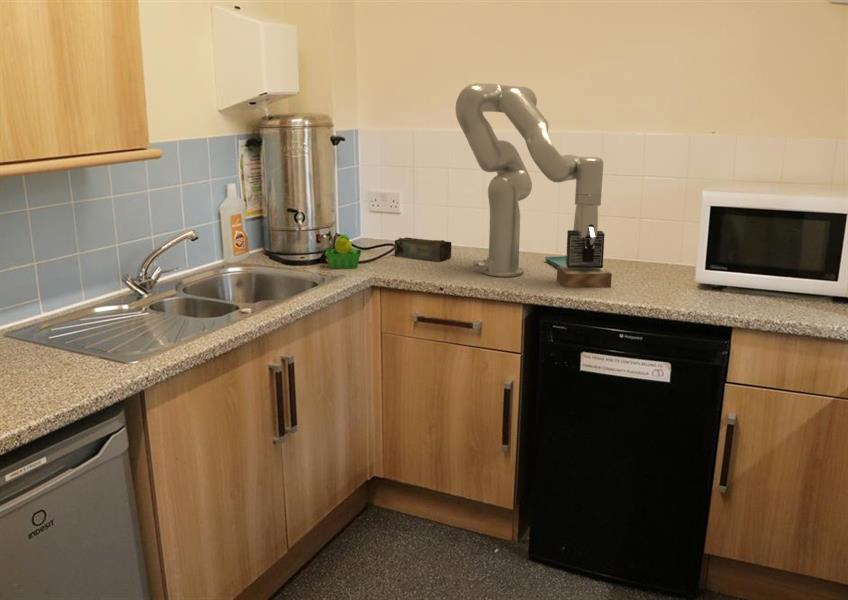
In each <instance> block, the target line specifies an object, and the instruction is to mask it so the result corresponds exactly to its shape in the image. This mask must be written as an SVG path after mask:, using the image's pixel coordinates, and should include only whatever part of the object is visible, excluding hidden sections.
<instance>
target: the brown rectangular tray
mask: <svg viewBox="0 0 848 600" xmlns="http://www.w3.org/2000/svg"><path fill="white" fill-rule="evenodd" d="M612 276H613V275H612V273H611V272H610V271H608V270H607V269H606V268H605V267H603V268H568V267H567V266H559V267H557V268H556V281H557V280H558V281H559V282H560V283H561V284H560V283H559V282H558V281H557V282H558V283H559V284H560V285H563V286H564V287H570V288H612ZM563 286H562V287H563ZM564 287H563V288H564Z"/></svg>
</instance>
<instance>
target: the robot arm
mask: <svg viewBox="0 0 848 600" xmlns="http://www.w3.org/2000/svg"><path fill="white" fill-rule="evenodd" d="M537 102H538V101H537V96H536V94H535V92H534V90H532V89H531V88H529V87H527V86H515V85H503V84H496V83H473V84H469V85H467V86H465V87H464V88H463V89H462V90H461V91H460V92H459V94H458V96H457V98H456V102H455V116H456V119H457V123H458V125H459V126H460V128H461V131H462V132H463V134H464V136H465V138H466V141H467V142H468V145H469V147H470V149H471V151H472V153H473V155H474V157H475V159H476V162H477V163H478V166H479V167H480V169H481V170H483V172H486V173H496V174H497V175H495V176H494V177H493V178H492V179H491V180H490V181H489V184H488V187H487V196H488V197H487V198H488V205H489V231H488V232H489V235H488V236H489V237H488V238H489V239H488V242H489V243H488V256H486V259H483V260H476V259H475V260H473V267H478V268H483V273H484V274H485V275H488V276H492V277H500V278H501V277H502V278H508V277H509V278H510V277H520V276H521V275H523V274H524V269H523V268H521V267H519V261H520V258H519V257H520V235H521V234H520V233H521V211H520V205H519V201H523V200H525V199H527V198H528V197H529V196H530V195H531V192H532V190H533V181H532V179H531V176H530V174H529V172H528V169H527V168H526V165H525V163H524V162H523V159H522V157H521V155H520V153H519V151H518V149H517V148H516V147H515V145H513V144H512V143H511V142H509V141H508V140H499V139H498V137H497V136H496V134H495V132H494V129H493V127H492V126H491V123H490V122H489V121H488V119H486V117H485V115H484V112H485V113H487V112H488V113H489V112H492V113H493V112H494V113H502V114H505V116H506V117H507V119H508V120H509V122H511V124H513V126H514V127H515V129H516V130H517V131H518V133H519V134H520V136H521V137H522V138H523V140H524V141H525V145H526V147H527V150H528V152H529V154H530V157H531V159H532V161H533V162H534V163H535V165H536V167H538V169H539V170H540V171H541V173H542V174H543V175H544V177H546V178H547V179H548V180H549V181H551V182H553V183H564V182H567V181H574V180H575V194H574V195H575V196H574V205H575V212H574V221H573V229H572V230H574V231H576V232H578V233H579V238H580V239H583V238H584V248H583V257H582V261H583V262H593V259H594V244H595V243H594V241H595V238H596V237H597V231H598V228H599V227H598V223H599V222H598V221H599V206H601V205H602V204H601V203H602V189H603V178H604V177H603V174H604V161H603V159H602V158H601V157H598V156H597V157H596V156H584V157H583V156H577V155H573V154H564V155H561V154H560V152H559V151H558V150H557V148H556V147H555V146H554V144H553V142H552V141H551V140H550V137H549V122H548V120H547V119H546V118H545V116H544V115H543V114H542V112H541V111H540V110H539V109H538V107H537ZM586 236H590V238H586ZM587 241H588V242H587Z"/></svg>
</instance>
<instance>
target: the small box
mask: <svg viewBox="0 0 848 600" xmlns="http://www.w3.org/2000/svg"><path fill="white" fill-rule="evenodd" d="M566 232H567V233H566V234H567V237H566V255H565V256H566V265H567V267H568V268H604V250H605V236H606V234H605V233H604V231H603V230H597V237H596V238H595V241H594V243H595V244H594V259H593V262H583V261H582V257H583V248H584V238H583V239H580V238H579V233H578V232H576V231H574V230H573V229H571V230H569V229H568V230H567V231H566ZM586 238H590V236H586ZM587 242H588V241H587Z"/></svg>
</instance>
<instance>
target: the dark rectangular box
mask: <svg viewBox="0 0 848 600" xmlns="http://www.w3.org/2000/svg"><path fill="white" fill-rule="evenodd" d="M394 257H398V258H406V259H415V260H422V261H431V262H438V261H439V262H438V263H440V262H444V261H447V259H448V260H451V259H452V241H447V240H443V239H442V240H439V239H438V240H437V239H432V240H431V239H425V238H424V239H423V238H414V237H407V236H406V237H403V238H402V237H398V239H395V240H394Z"/></svg>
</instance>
